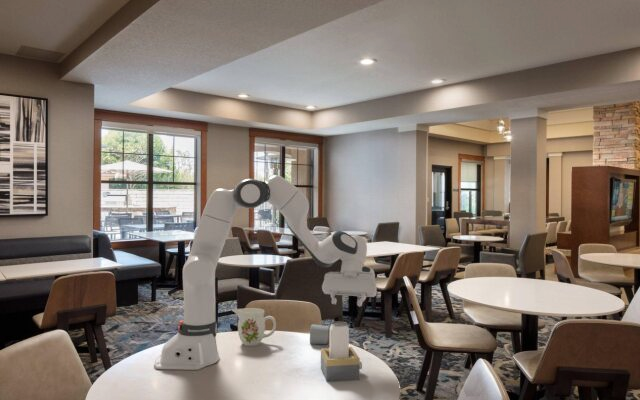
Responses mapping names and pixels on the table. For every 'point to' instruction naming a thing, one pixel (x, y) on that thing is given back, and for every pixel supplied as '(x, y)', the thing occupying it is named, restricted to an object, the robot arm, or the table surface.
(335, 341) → the can
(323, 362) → the drawer
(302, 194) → the robot arm
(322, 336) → the ceramic mug
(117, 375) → the table surface
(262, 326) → the pitcher
